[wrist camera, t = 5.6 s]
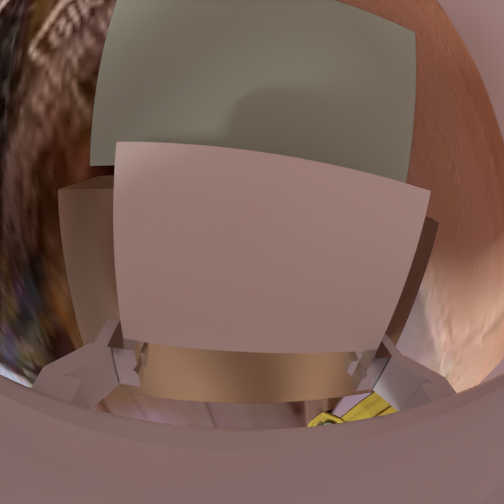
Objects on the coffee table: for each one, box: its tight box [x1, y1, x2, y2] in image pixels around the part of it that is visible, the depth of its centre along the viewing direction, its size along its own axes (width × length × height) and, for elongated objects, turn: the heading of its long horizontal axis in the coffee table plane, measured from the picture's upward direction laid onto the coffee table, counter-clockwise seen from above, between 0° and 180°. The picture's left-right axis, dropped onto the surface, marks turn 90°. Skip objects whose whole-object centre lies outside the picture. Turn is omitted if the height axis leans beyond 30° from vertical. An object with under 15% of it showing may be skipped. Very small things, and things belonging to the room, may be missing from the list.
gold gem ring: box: [308, 392, 398, 427], centre depth 20 cm, size 13×13×4 cm
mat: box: [90, 0, 416, 183], centre depth 10 cm, size 16×10×1 cm, turn 84°
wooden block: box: [58, 175, 439, 403], centre depth 12 cm, size 15×10×4 cm, turn 84°
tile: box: [113, 142, 431, 353], centre depth 8 cm, size 9×6×2 cm, turn 82°
